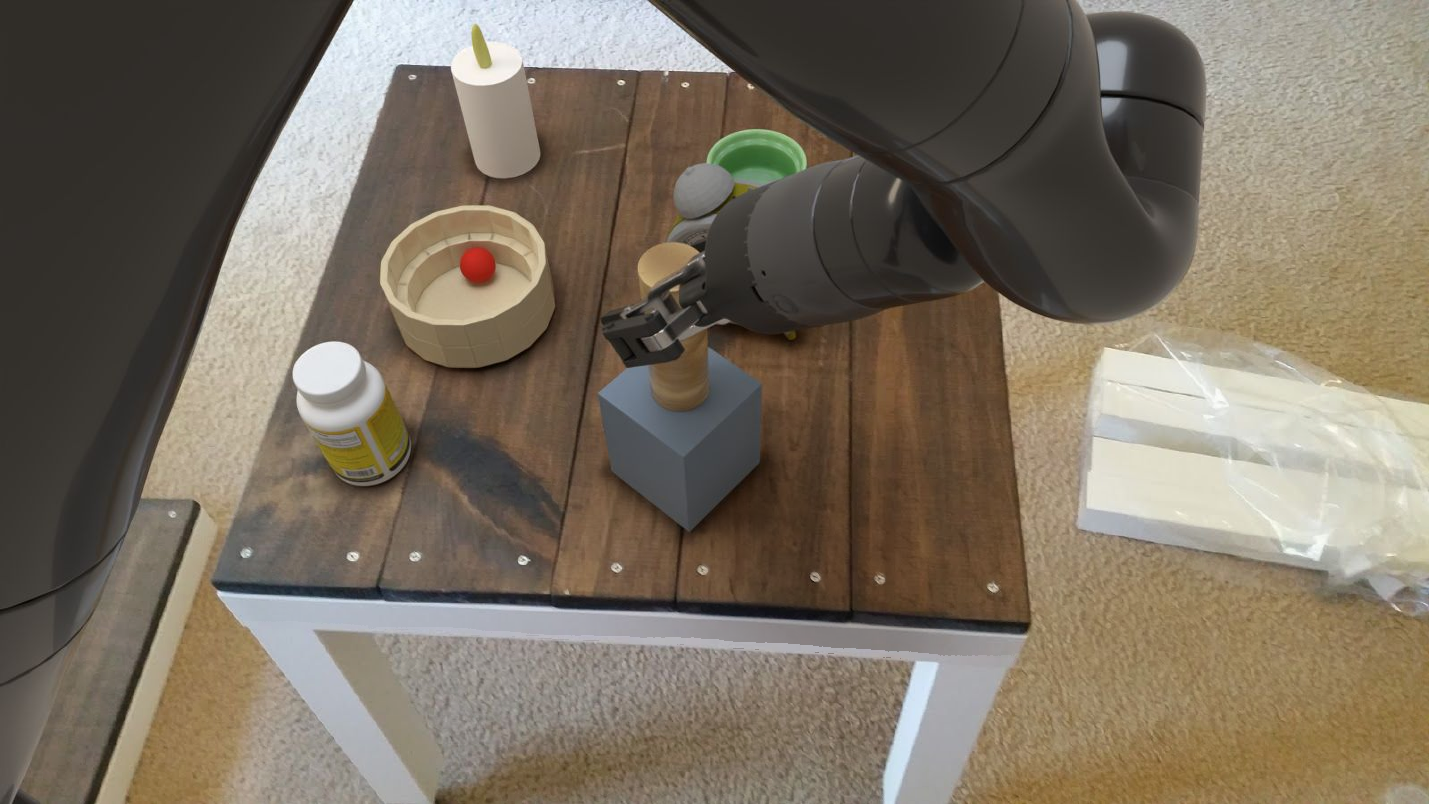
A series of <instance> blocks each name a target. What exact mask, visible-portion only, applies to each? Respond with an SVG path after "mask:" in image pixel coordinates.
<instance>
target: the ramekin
mask: <svg viewBox="0 0 1429 804" xmlns="http://www.w3.org/2000/svg"><path fill="white" fill-rule="evenodd" d="M706 163H710V164H716V165H718V166H720V167H722V168H724V169H725V170H726V171H728V172H729V173H730V174H731V176H732V178H733V179H742V180H749V181H754V182H757V183H761V184H765V183H767V182H770V181H772V180H779V179H782V178H784V177H787V176H790V175H792V174H795V173H797V172H800V171H802V170H805V169H807V168H808V160H807V155H806V153H805V151H804V149H803V147H802V146H801V145H800V144H799V143H798V142H797V141H796V140H795V139H793V138H792V137H790V136H788V135H787V134H783V133H781V132H778V131H776V130H770V129H763V128H762V129H761V128H758V129H757V128H753V129H750V128H749V129H744V130H740V131H735V132H732V133H730V134H728V135H726V136H724V137H723V138H721V139H719V140H718V141H717V142H716V143H715V144H714V145H713V146H712V147H711V149H710V150H709V152H708V154H707V157H706Z"/></svg>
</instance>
